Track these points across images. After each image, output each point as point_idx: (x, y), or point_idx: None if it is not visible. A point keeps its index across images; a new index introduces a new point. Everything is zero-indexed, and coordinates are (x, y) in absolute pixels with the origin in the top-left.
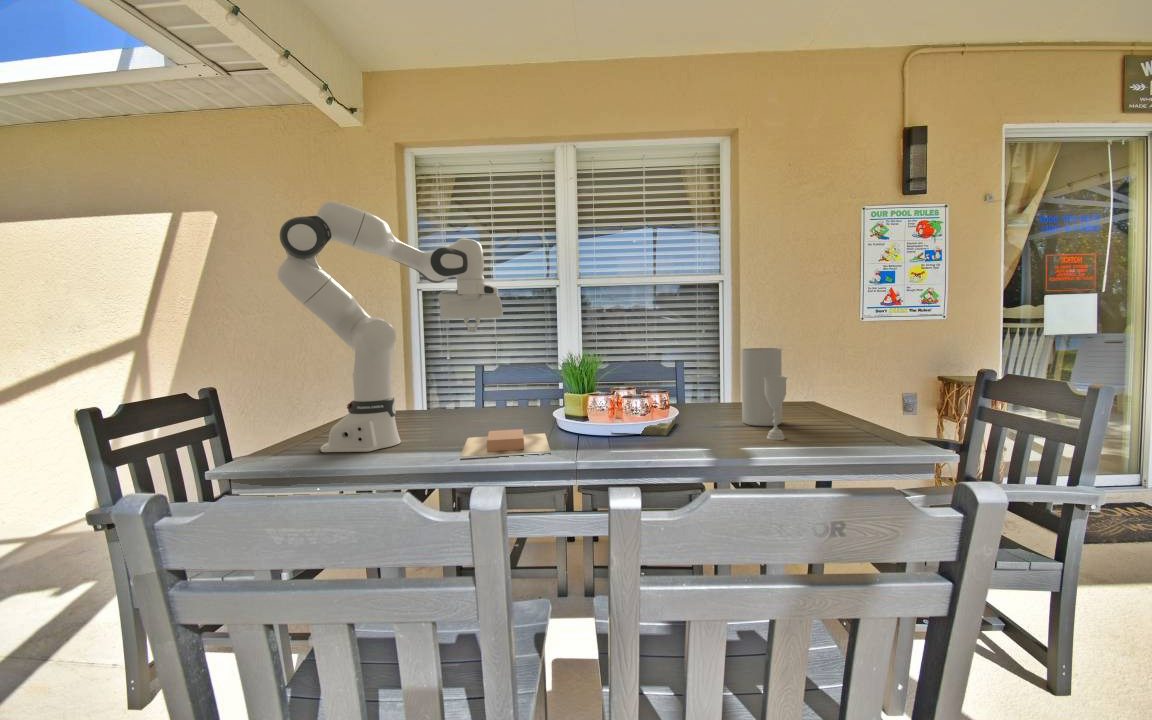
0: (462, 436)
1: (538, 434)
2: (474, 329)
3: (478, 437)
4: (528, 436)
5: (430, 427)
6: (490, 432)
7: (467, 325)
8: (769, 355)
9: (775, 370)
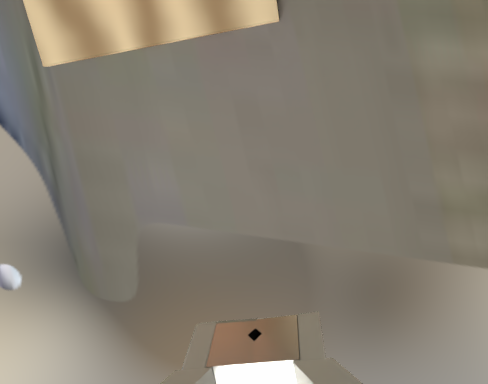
0: (314, 97)
1: (59, 49)
2: (221, 334)
3: (244, 21)
4: (82, 20)
5: (456, 255)
6: None
7: (329, 373)
8: None
9: None
